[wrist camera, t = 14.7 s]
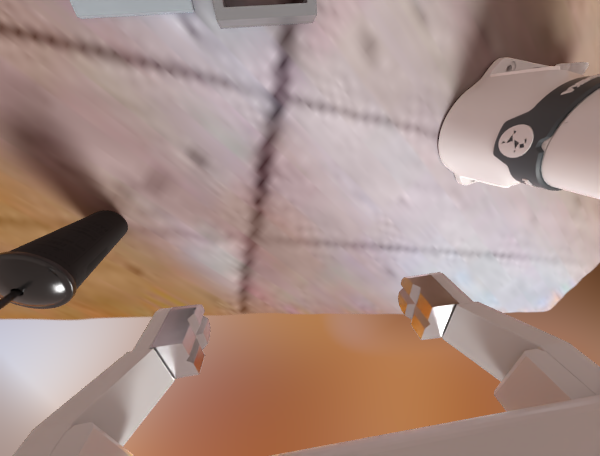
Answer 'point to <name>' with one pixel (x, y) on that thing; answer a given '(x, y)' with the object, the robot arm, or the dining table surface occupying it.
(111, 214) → the drinking cup
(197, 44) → the dining table surface
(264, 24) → the charging station
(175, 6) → the slate mat
